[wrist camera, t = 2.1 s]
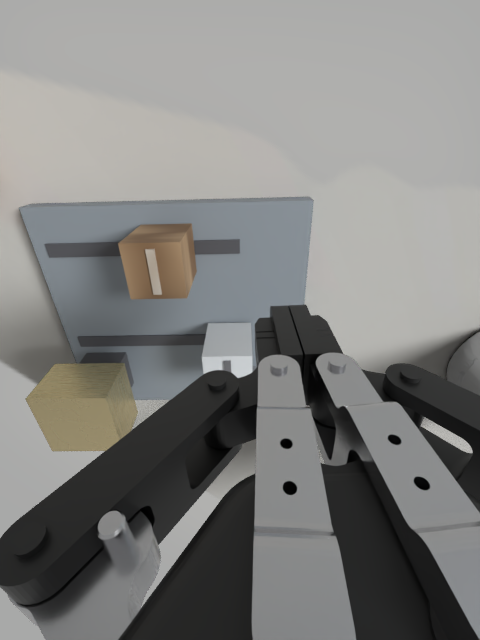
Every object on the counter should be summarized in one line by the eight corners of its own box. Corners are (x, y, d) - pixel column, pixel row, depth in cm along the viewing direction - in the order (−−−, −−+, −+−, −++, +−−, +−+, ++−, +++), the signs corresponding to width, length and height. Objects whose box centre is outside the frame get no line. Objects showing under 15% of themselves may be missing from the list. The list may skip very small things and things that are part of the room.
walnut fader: (191, 223, 21) (179, 242, 17) (196, 271, 23) (186, 299, 19) (141, 224, 21) (117, 244, 17) (150, 272, 23) (130, 300, 19)
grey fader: (251, 322, 25) (252, 357, 21) (251, 357, 27) (252, 394, 23) (208, 323, 25) (201, 357, 21) (211, 357, 27) (205, 395, 23)
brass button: (124, 362, 24) (105, 397, 21) (137, 412, 27) (123, 450, 24) (55, 363, 24) (25, 399, 21) (75, 413, 27) (52, 451, 24)
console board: (309, 196, 22) (324, 209, 18) (293, 387, 31) (300, 424, 27) (31, 203, 22) (-16, 217, 18) (96, 389, 31) (74, 426, 27)
